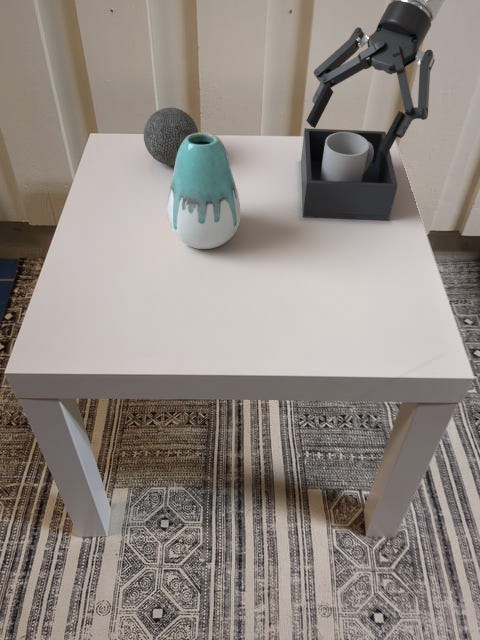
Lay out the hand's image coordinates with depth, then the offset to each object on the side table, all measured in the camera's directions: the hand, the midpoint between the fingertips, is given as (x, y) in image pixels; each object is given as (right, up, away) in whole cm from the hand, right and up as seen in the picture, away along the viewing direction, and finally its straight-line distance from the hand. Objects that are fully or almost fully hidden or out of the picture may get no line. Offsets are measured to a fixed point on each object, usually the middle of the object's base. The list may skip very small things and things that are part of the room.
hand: (345, 138), depth 92 cm
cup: (+2, -6, +9) cm, 11 cm away
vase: (-23, -16, +1) cm, 28 cm away
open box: (+1, -6, +10) cm, 12 cm away
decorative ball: (-30, +1, +15) cm, 34 cm away
